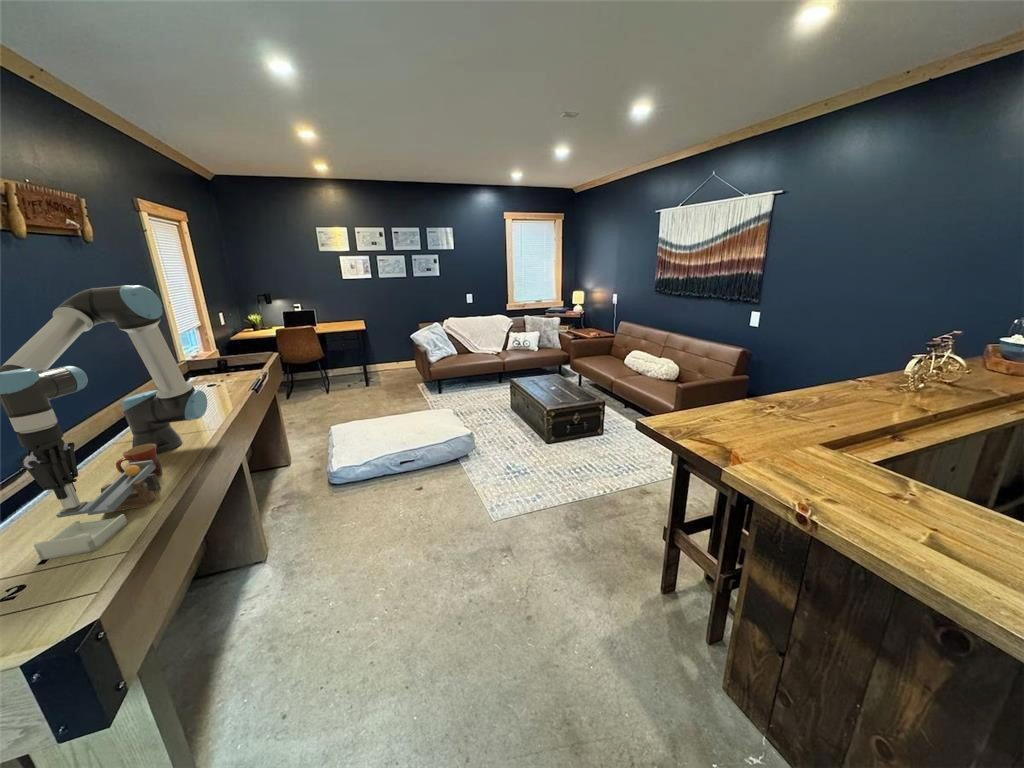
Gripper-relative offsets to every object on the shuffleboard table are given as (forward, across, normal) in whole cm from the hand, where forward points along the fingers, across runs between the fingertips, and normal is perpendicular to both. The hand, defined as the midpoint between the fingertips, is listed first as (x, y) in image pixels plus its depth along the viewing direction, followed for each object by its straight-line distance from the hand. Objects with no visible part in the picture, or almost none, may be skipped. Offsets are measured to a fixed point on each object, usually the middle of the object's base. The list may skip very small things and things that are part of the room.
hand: (72, 506), depth 110 cm
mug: (+6, -26, 0) cm, 27 cm away
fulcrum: (+6, -11, +8) cm, 15 cm away
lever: (+1, -7, +4) cm, 8 cm away
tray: (+6, +9, +8) cm, 13 cm away
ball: (-3, -12, +8) cm, 15 cm away
